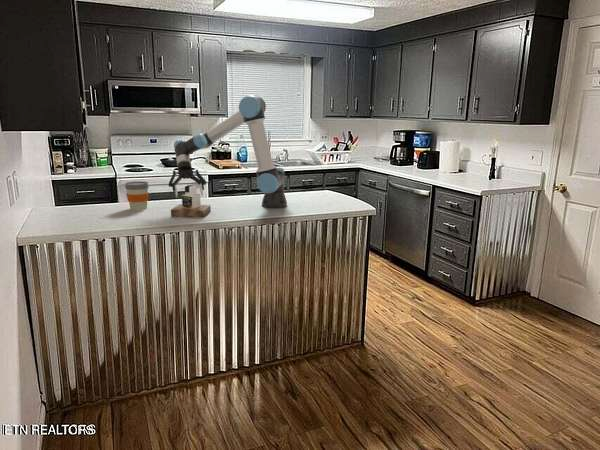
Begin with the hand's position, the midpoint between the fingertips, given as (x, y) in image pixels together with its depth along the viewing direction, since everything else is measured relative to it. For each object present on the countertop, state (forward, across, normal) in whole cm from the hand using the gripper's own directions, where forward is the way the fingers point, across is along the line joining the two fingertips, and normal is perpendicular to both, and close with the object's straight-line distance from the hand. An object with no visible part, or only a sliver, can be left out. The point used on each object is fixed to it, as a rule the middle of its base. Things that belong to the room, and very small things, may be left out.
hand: (189, 195), depth 240 cm
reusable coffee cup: (-9, +26, -24) cm, 37 cm away
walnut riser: (+8, 0, -7) cm, 11 cm away
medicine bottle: (+5, -1, -4) cm, 7 cm away
